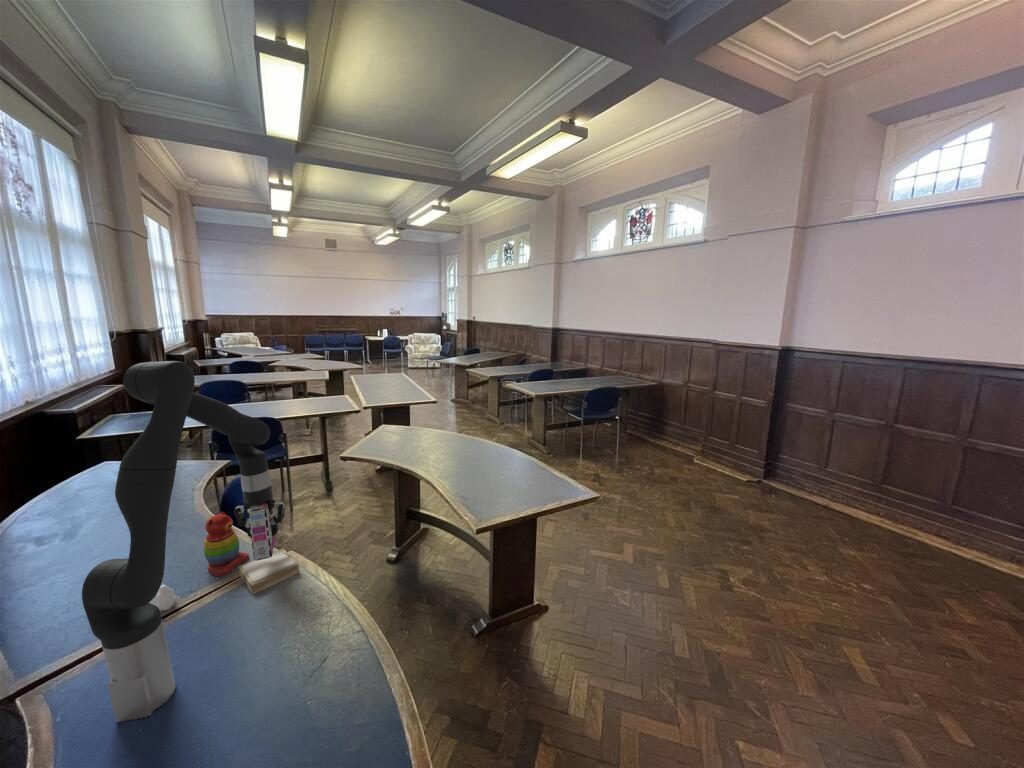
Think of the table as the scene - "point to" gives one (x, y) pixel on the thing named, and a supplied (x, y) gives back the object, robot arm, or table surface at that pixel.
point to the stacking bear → (222, 546)
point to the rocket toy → (165, 598)
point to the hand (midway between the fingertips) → (263, 535)
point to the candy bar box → (261, 531)
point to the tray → (268, 571)
